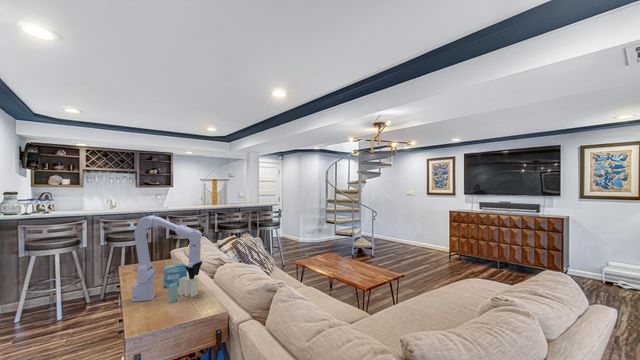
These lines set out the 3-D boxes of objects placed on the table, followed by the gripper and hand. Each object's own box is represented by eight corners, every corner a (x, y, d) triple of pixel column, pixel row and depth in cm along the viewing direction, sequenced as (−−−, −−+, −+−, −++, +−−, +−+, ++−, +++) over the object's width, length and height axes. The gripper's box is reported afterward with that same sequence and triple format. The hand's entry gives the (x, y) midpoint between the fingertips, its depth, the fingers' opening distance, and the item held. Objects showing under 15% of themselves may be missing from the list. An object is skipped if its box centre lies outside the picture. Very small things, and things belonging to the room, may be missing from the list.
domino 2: (184, 296, 155) (185, 279, 155) (190, 293, 158) (190, 277, 159) (186, 296, 154) (186, 279, 155) (191, 294, 158) (192, 277, 158)
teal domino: (168, 302, 145) (169, 285, 146) (175, 300, 149) (175, 282, 150) (170, 303, 145) (171, 285, 145) (176, 300, 149) (177, 283, 149)
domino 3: (190, 297, 153) (191, 280, 154) (195, 294, 157) (196, 278, 158) (192, 297, 153) (192, 280, 153) (197, 294, 157) (198, 278, 157)
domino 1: (178, 295, 156) (179, 279, 156) (184, 293, 160) (184, 276, 160) (180, 295, 156) (181, 279, 156) (186, 293, 159) (186, 277, 160)
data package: (165, 288, 167) (165, 268, 168) (163, 286, 170) (163, 266, 171) (186, 284, 175) (187, 264, 176) (184, 282, 178) (184, 263, 179)
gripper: (198, 255, 150) (197, 280, 150) (205, 249, 165) (205, 273, 164) (184, 255, 149) (183, 281, 149) (193, 249, 164) (192, 273, 163)
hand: (194, 277), depth 156 cm, fingers open, 7 cm apart
